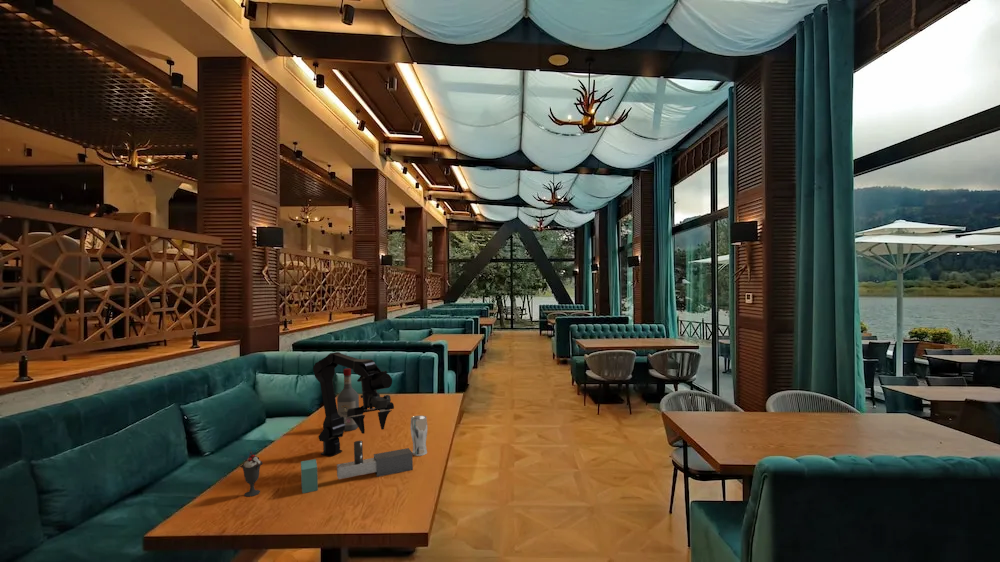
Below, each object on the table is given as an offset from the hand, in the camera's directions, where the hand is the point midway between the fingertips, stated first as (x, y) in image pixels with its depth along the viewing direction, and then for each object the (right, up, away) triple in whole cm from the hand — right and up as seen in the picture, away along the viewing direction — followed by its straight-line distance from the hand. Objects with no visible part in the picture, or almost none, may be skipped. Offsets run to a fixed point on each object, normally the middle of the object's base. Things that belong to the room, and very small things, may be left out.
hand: (373, 431), depth 183 cm
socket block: (-17, -14, -19) cm, 29 cm away
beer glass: (+16, -13, +11) cm, 24 cm away
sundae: (-36, -14, -23) cm, 45 cm away
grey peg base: (+3, -12, -10) cm, 15 cm away
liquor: (-26, -15, +51) cm, 59 cm away
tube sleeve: (+10, -13, -7) cm, 17 cm away
